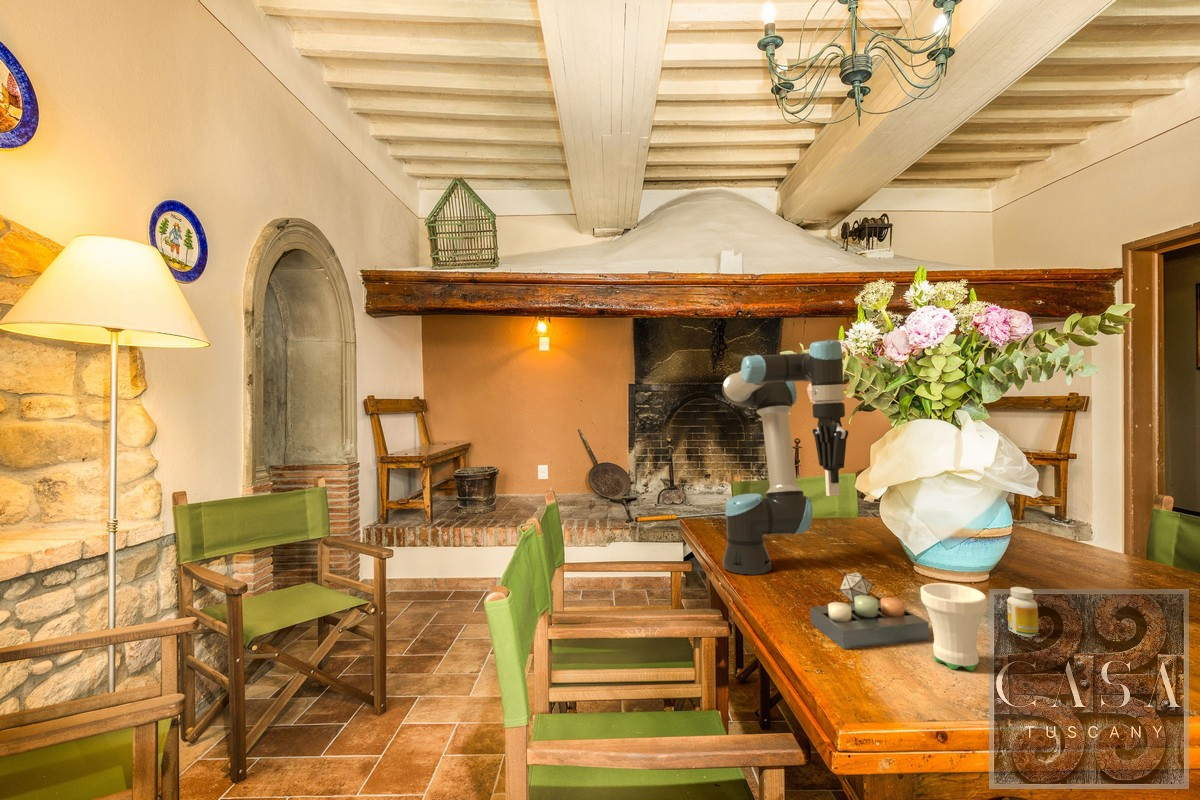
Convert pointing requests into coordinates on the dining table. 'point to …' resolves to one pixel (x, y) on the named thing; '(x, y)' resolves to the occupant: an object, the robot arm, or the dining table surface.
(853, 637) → the panel
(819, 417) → the robot arm
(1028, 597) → the supplement bottle
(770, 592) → the dining table surface
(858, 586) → the game die
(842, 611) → the ivory button
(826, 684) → the dining table surface
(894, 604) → the terracotta button
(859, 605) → the sage button
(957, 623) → the cup
